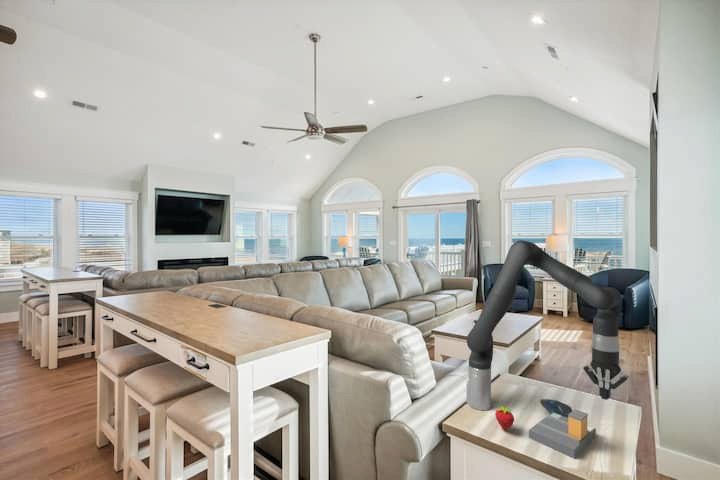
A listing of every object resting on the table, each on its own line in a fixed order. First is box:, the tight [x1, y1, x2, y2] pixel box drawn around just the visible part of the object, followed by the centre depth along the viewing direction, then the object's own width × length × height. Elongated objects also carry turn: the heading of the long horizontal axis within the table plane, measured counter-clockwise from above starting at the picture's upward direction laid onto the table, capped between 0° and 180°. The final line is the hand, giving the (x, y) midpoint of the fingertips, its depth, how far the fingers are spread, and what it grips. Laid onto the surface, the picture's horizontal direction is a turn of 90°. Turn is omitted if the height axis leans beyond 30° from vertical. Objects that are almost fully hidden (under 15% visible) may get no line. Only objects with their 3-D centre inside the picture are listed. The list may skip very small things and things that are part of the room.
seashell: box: [539, 398, 573, 418], centre depth 146 cm, size 6×9×10 cm
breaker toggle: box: [567, 408, 589, 440], centre depth 124 cm, size 4×6×7 cm
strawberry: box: [495, 404, 515, 432], centre depth 133 cm, size 6×8×10 cm
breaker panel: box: [528, 412, 597, 459], centre depth 128 cm, size 15×20×4 cm
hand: (605, 398), depth 118 cm, fingers closed
